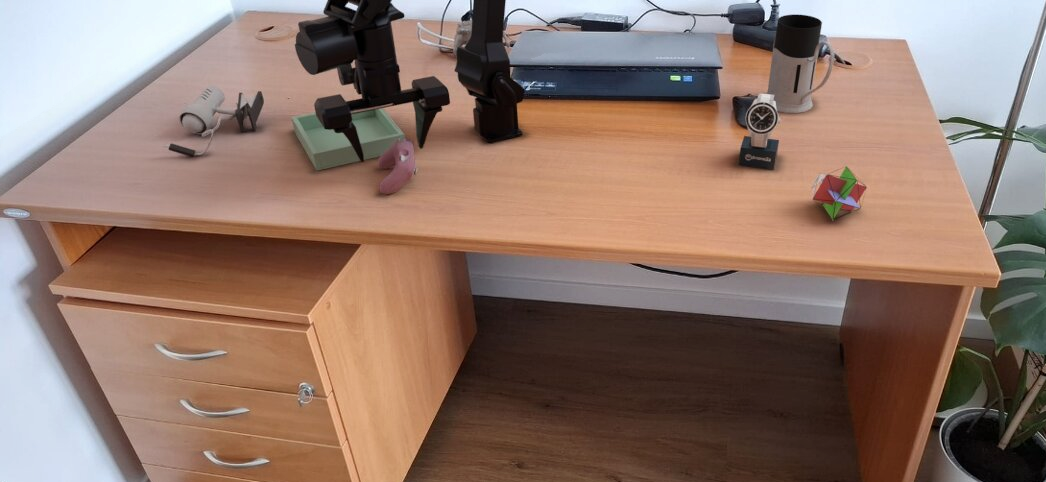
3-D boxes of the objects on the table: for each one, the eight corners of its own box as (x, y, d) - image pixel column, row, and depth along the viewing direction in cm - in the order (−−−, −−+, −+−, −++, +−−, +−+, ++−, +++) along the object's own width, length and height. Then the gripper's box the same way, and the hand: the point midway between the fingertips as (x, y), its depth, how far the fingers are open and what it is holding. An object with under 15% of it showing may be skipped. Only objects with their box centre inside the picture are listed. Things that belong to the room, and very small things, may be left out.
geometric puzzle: (864, 185, 120) (840, 147, 115) (883, 209, 114) (858, 170, 110) (822, 213, 122) (796, 177, 117) (838, 238, 116) (812, 201, 112)
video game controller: (407, 203, 123) (423, 163, 120) (377, 194, 121) (393, 153, 118) (404, 172, 131) (419, 134, 128) (375, 164, 129) (390, 125, 126)
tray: (379, 115, 145) (376, 100, 143) (406, 150, 134) (404, 134, 132) (295, 132, 139) (291, 117, 137) (316, 170, 128) (313, 154, 126)
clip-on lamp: (229, 175, 133) (272, 108, 145) (218, 145, 128) (264, 78, 140) (159, 165, 133) (208, 99, 145) (145, 135, 128) (197, 69, 140)
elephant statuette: (462, 46, 173) (458, 10, 169) (517, 49, 172) (515, 12, 168) (450, 62, 166) (446, 25, 161) (508, 65, 164) (506, 27, 160)
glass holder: (793, 90, 154) (804, 10, 145) (842, 119, 143) (857, 35, 135) (754, 98, 151) (763, 17, 142) (801, 128, 140) (814, 43, 132)
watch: (736, 171, 128) (744, 105, 121) (743, 148, 134) (751, 84, 128) (772, 175, 127) (782, 109, 120) (778, 152, 133) (787, 88, 127)
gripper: (419, 28, 125) (432, 122, 134) (295, 49, 118) (317, 147, 127) (445, 50, 117) (456, 148, 126) (313, 74, 110) (335, 177, 119)
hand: (391, 154), depth 125 cm, fingers open, 9 cm apart
